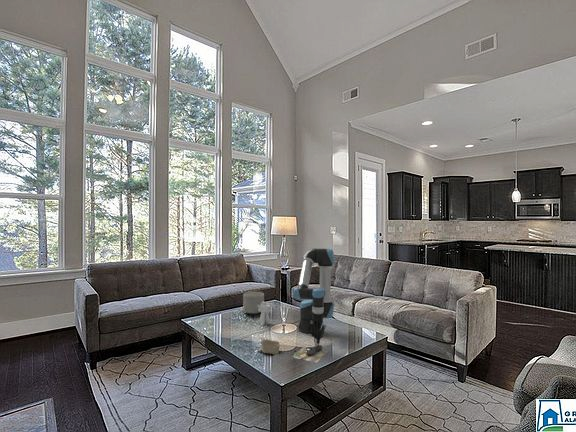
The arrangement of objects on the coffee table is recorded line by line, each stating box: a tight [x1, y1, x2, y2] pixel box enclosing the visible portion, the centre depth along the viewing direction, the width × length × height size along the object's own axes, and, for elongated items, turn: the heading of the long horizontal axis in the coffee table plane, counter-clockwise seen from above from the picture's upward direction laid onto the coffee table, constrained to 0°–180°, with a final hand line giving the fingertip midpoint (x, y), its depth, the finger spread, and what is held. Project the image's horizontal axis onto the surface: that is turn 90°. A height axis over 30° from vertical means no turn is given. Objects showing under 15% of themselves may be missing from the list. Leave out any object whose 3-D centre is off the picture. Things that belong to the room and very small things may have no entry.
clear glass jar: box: [257, 301, 274, 326], centre depth 270 cm, size 12×13×18 cm
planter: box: [242, 291, 265, 316], centre depth 298 cm, size 19×19×18 cm
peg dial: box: [299, 344, 323, 356], centre depth 206 cm, size 20×6×3 cm, turn 131°
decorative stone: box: [257, 338, 281, 356], centre depth 211 cm, size 8×14×8 cm, turn 82°
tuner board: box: [292, 346, 329, 364], centre depth 206 cm, size 18×19×1 cm
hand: (316, 348), depth 212 cm, fingers closed
